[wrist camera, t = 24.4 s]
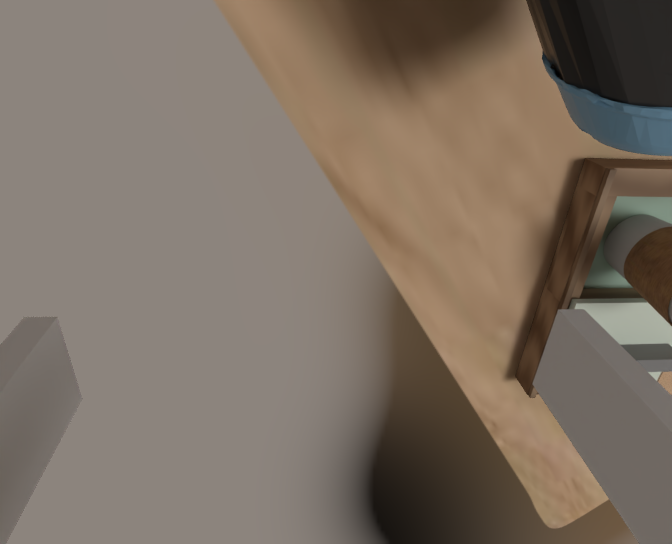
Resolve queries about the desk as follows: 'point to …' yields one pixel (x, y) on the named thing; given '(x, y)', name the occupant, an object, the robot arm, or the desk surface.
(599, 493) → the desk surface
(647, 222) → the coffee cup
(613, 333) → the lid
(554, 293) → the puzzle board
